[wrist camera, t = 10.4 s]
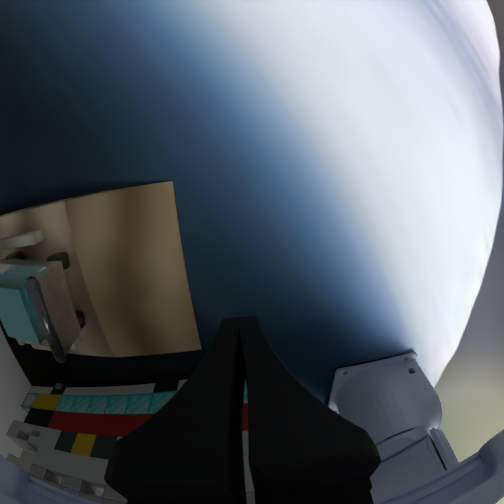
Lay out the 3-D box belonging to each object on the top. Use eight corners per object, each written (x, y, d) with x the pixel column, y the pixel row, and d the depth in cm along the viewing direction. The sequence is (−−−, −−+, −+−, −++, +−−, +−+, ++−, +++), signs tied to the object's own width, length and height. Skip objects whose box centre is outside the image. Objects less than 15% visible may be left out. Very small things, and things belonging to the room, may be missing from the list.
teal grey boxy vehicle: (71, 246, 17) (31, 280, 12) (91, 323, 20) (64, 366, 15) (12, 246, 17) (-27, 273, 12) (33, 314, 20) (4, 349, 15)
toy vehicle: (33, 378, 25) (-11, 461, 11) (258, 353, 23) (275, 521, 9) (67, 416, 28) (38, 496, 14) (277, 404, 26) (295, 533, 13)
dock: (175, 178, 18) (161, 188, 15) (202, 341, 24) (198, 372, 20) (-2, 214, 18) (-27, 227, 14) (41, 336, 23) (26, 357, 20)
